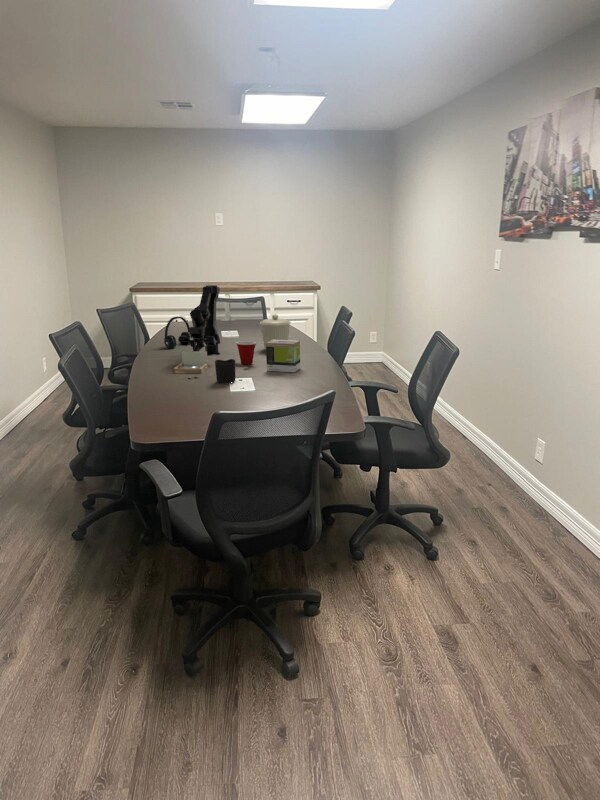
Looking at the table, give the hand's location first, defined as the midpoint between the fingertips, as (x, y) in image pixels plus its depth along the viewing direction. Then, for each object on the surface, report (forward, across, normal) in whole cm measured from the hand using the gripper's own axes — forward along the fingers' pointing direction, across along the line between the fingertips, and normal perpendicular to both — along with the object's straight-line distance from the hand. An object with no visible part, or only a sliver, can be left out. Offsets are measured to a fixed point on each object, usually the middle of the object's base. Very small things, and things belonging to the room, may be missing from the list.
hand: (194, 354), depth 282 cm
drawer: (+10, 0, 0) cm, 10 cm away
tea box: (+6, +46, +5) cm, 47 cm away
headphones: (-33, -26, +44) cm, 61 cm away
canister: (-27, +35, +38) cm, 59 cm away
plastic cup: (-2, +25, +13) cm, 28 cm away
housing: (+11, 0, -1) cm, 11 cm away
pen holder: (+23, +22, -12) cm, 34 cm away
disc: (+10, 0, -1) cm, 10 cm away
